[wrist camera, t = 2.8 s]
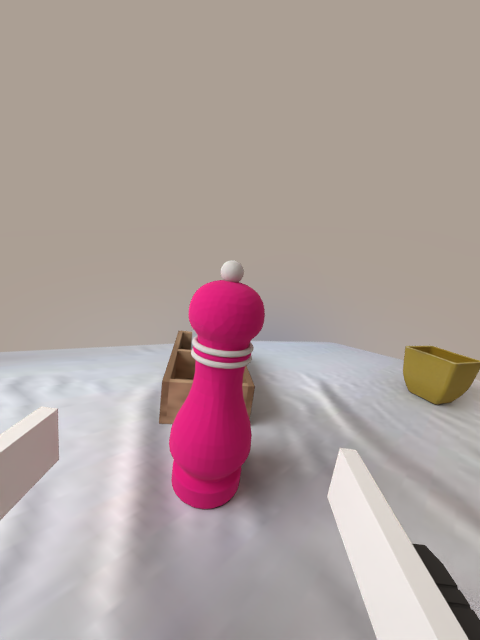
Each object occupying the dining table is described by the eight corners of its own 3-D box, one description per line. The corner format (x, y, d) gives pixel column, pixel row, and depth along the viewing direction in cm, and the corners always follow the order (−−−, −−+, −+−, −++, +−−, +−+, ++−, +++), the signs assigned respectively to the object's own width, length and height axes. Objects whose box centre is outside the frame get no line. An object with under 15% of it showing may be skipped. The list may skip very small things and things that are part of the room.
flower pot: (392, 387, 50) (404, 345, 48) (419, 384, 54) (431, 345, 52) (439, 412, 42) (457, 363, 40) (468, 407, 46) (485, 362, 44)
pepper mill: (148, 483, 22) (164, 250, 18) (201, 440, 28) (222, 259, 24) (213, 535, 19) (252, 262, 14) (257, 473, 25) (294, 269, 20)
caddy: (230, 360, 52) (233, 335, 51) (248, 425, 32) (254, 386, 31) (176, 356, 50) (178, 330, 49) (159, 423, 30) (162, 381, 29)
